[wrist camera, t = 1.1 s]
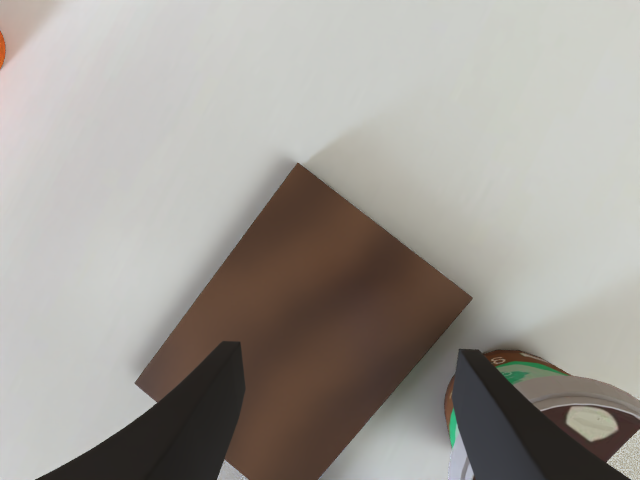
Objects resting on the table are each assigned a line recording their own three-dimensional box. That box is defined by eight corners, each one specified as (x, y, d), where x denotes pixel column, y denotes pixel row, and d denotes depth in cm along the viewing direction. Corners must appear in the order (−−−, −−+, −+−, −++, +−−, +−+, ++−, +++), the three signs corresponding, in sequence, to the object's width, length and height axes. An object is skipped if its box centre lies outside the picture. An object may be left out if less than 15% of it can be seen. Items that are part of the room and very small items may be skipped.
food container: (500, 298, 29) (568, 341, 19) (567, 351, 29) (672, 423, 19) (394, 417, 31) (406, 515, 21) (456, 469, 30) (500, 593, 20)
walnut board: (467, 293, 29) (473, 298, 28) (292, 499, 32) (289, 513, 31) (301, 165, 30) (297, 162, 29) (144, 375, 33) (133, 383, 32)
